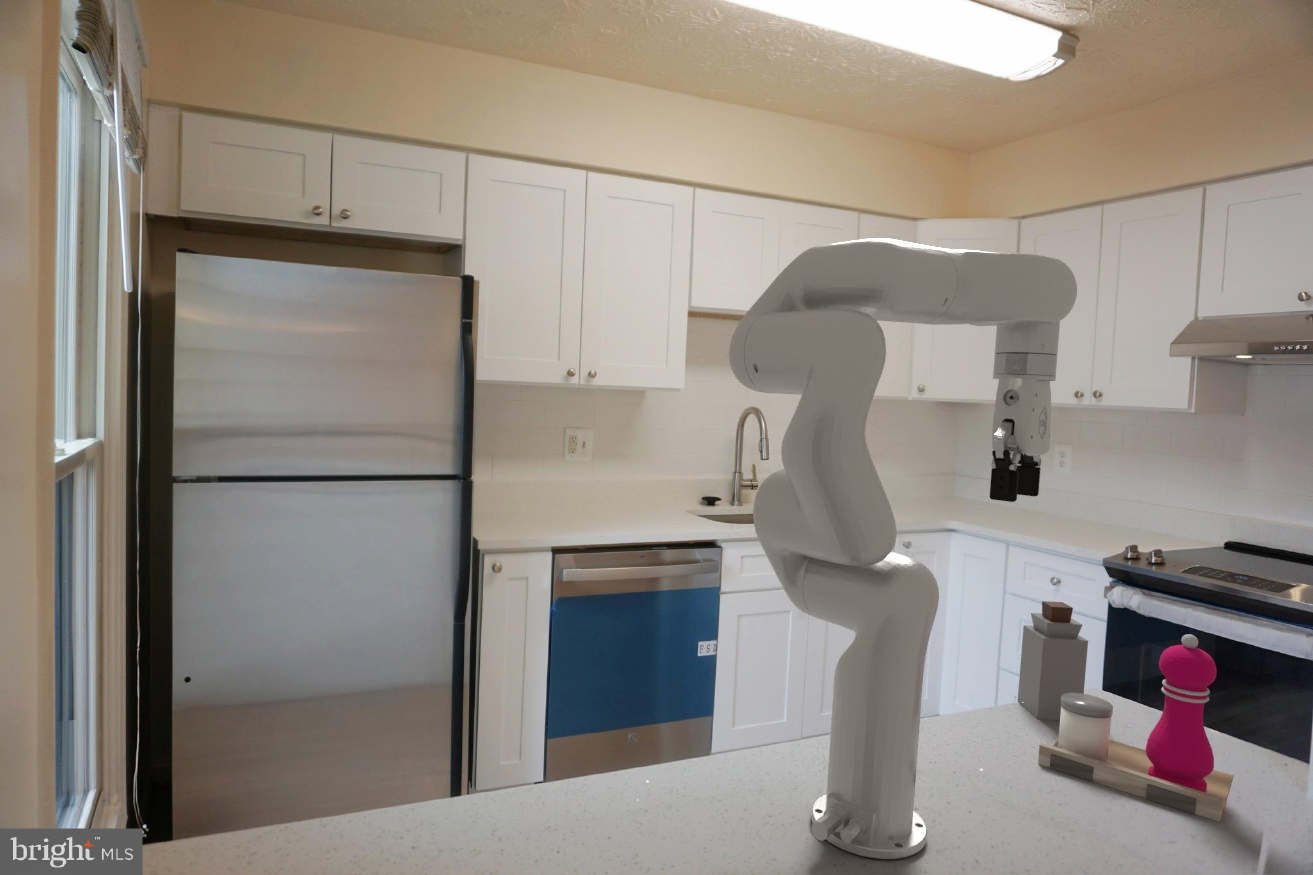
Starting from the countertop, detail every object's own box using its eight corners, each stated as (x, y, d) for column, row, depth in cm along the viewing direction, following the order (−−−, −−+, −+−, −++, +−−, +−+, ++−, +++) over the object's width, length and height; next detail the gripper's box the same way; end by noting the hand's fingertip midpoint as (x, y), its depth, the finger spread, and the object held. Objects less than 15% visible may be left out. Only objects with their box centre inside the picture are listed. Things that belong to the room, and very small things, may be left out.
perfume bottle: (1080, 727, 121) (1090, 611, 120) (1036, 724, 121) (1045, 609, 120) (1059, 709, 128) (1068, 599, 127) (1017, 707, 128) (1025, 597, 127)
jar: (1102, 774, 104) (1107, 714, 103) (1051, 758, 108) (1055, 700, 107) (1112, 759, 108) (1117, 702, 108) (1062, 744, 112) (1067, 689, 112)
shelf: (1219, 830, 93) (1222, 801, 93) (1036, 771, 106) (1039, 745, 106) (1232, 782, 105) (1235, 757, 105) (1067, 734, 118) (1069, 711, 118)
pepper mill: (1156, 799, 98) (1171, 640, 96) (1133, 771, 105) (1146, 623, 104) (1222, 807, 96) (1237, 646, 95) (1194, 779, 103) (1208, 629, 102)
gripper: (1036, 366, 95) (1025, 506, 97) (1072, 372, 109) (1062, 496, 110) (972, 364, 100) (962, 499, 101) (1014, 371, 113) (1005, 490, 115)
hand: (1014, 497), depth 106 cm, fingers open, 9 cm apart
